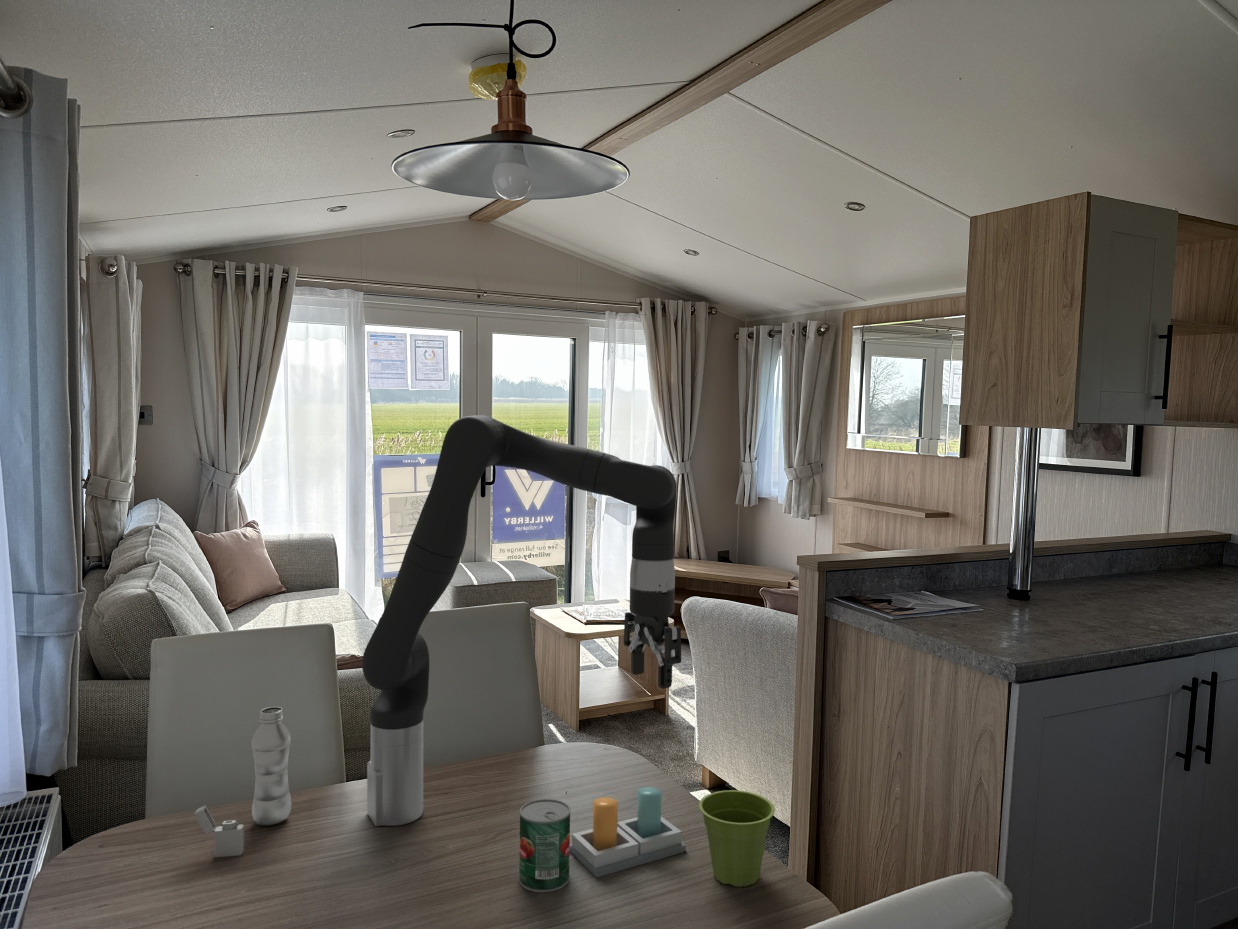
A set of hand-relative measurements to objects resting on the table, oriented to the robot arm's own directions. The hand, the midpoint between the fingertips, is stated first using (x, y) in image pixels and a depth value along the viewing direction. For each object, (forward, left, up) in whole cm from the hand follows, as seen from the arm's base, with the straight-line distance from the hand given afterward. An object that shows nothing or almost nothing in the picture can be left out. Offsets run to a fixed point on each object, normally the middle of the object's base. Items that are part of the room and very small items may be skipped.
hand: (650, 680), depth 139 cm
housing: (-4, 0, -28) cm, 28 cm away
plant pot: (+7, -15, -28) cm, 33 cm away
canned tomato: (-20, -1, -28) cm, 35 cm away
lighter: (-63, +31, -28) cm, 76 cm away
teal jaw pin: (0, 0, -27) cm, 27 cm away
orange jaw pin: (-8, 0, -27) cm, 28 cm away
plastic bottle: (-54, +39, -28) cm, 73 cm away
